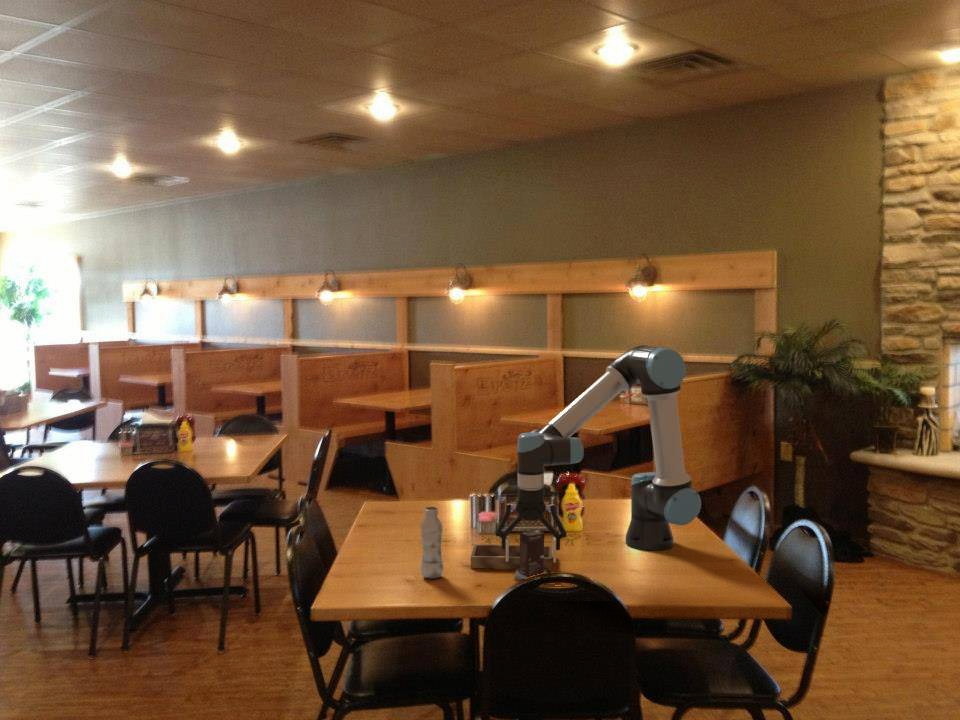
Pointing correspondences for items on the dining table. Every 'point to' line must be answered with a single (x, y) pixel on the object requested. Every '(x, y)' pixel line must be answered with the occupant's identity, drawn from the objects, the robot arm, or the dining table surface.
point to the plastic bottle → (431, 544)
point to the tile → (520, 576)
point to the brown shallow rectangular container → (489, 557)
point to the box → (531, 553)
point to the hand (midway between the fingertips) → (530, 560)
